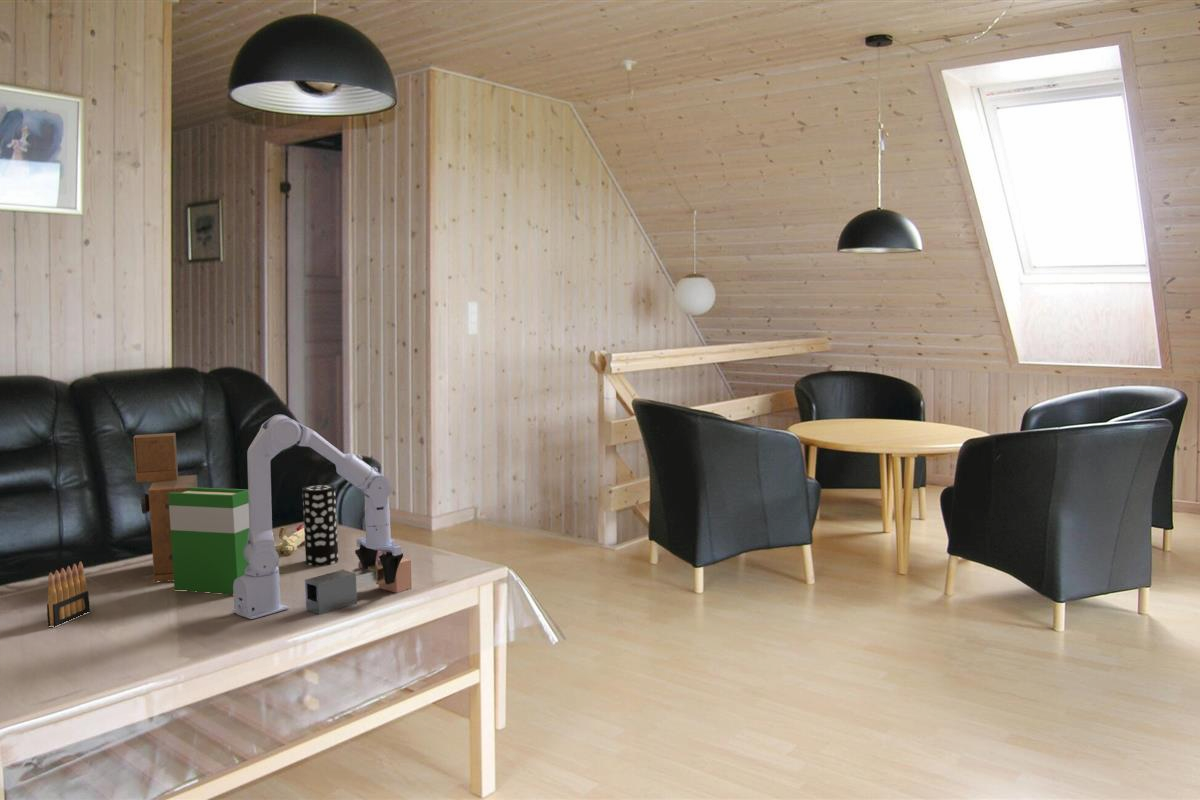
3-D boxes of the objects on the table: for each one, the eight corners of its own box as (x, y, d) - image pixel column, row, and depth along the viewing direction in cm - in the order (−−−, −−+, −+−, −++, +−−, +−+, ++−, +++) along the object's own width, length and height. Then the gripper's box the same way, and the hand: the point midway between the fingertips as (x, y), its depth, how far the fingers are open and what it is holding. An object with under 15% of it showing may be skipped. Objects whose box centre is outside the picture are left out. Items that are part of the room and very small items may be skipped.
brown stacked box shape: (144, 565, 260) (136, 434, 256) (202, 559, 265) (194, 431, 261) (136, 584, 242) (126, 444, 238) (198, 578, 247) (189, 440, 243)
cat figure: (298, 561, 267) (345, 532, 291) (294, 530, 265) (342, 504, 289) (266, 559, 270) (315, 530, 293) (263, 528, 268) (313, 502, 292)
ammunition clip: (55, 628, 211) (50, 573, 209) (47, 627, 211) (43, 573, 210) (90, 612, 221) (86, 560, 220) (83, 611, 221) (79, 560, 220)
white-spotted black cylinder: (345, 560, 262) (341, 486, 259) (320, 567, 255) (317, 492, 252) (323, 556, 266) (320, 483, 264) (299, 563, 259) (295, 489, 257)
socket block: (397, 592, 231) (395, 564, 231) (378, 587, 236) (377, 559, 235) (411, 588, 235) (410, 560, 234) (393, 583, 239) (392, 555, 239)
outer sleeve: (319, 614, 216) (317, 583, 216) (306, 610, 220) (304, 579, 219) (357, 603, 224) (355, 573, 223) (344, 599, 227) (342, 569, 226)
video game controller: (370, 575, 252) (381, 552, 251) (355, 567, 253) (366, 544, 251) (386, 565, 262) (396, 542, 260) (371, 557, 262) (381, 534, 261)
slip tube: (341, 594, 222) (341, 579, 221) (332, 591, 224) (331, 576, 224) (400, 578, 234) (400, 563, 234) (391, 575, 236) (390, 561, 236)
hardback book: (174, 590, 236) (168, 493, 234) (194, 582, 243) (188, 487, 241) (238, 595, 232) (232, 495, 229) (256, 586, 239) (251, 489, 236)
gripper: (410, 525, 229) (413, 581, 230) (372, 516, 238) (375, 571, 239) (386, 530, 223) (388, 588, 225) (348, 522, 233) (350, 578, 234)
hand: (380, 580), depth 232 cm, fingers open, 7 cm apart
